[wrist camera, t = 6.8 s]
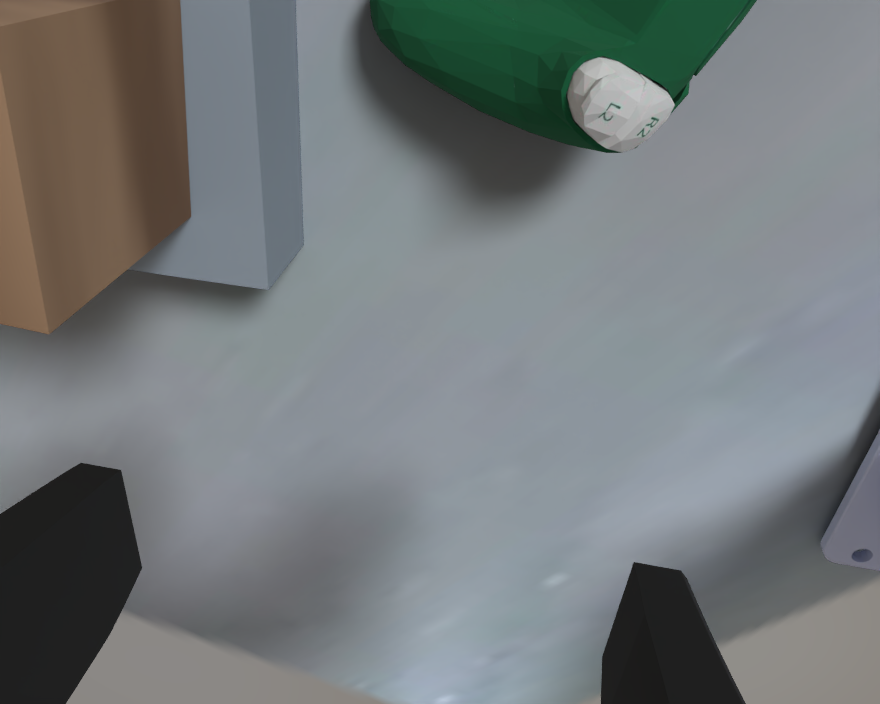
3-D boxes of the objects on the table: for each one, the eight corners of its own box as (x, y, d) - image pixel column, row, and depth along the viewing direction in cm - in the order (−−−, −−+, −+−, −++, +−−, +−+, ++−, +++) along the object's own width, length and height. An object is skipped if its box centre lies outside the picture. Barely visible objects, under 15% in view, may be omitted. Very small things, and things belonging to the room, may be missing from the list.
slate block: (299, -133, 14) (239, -139, 12) (309, 237, 19) (268, 290, 16) (-70, -165, 15) (-198, -176, 13) (23, 198, 20) (-58, 243, 17)
